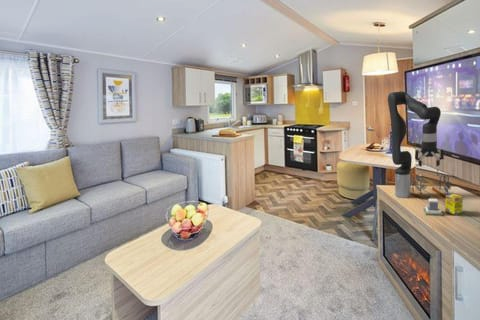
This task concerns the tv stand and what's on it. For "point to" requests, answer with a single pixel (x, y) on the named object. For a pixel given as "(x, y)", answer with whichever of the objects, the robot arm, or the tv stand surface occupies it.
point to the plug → (433, 205)
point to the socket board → (433, 212)
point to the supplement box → (453, 204)
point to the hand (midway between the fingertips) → (428, 166)
